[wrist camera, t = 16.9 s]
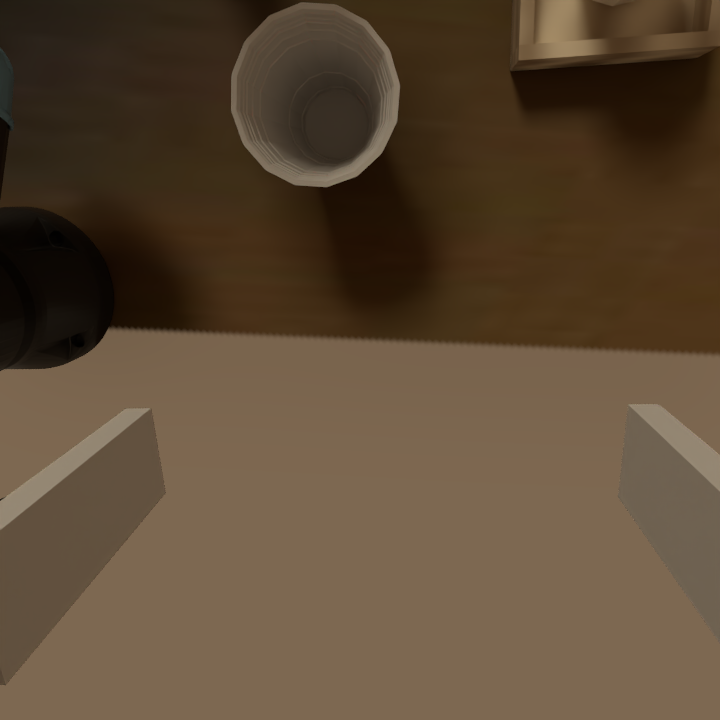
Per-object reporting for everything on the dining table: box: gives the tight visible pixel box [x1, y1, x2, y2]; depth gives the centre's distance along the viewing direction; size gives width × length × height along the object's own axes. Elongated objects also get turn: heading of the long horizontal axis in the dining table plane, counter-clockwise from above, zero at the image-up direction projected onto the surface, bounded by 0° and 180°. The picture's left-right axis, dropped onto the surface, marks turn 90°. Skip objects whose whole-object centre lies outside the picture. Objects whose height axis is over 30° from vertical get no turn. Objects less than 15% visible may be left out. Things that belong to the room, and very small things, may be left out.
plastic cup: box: [231, 2, 400, 187], centre depth 39 cm, size 11×11×12 cm
